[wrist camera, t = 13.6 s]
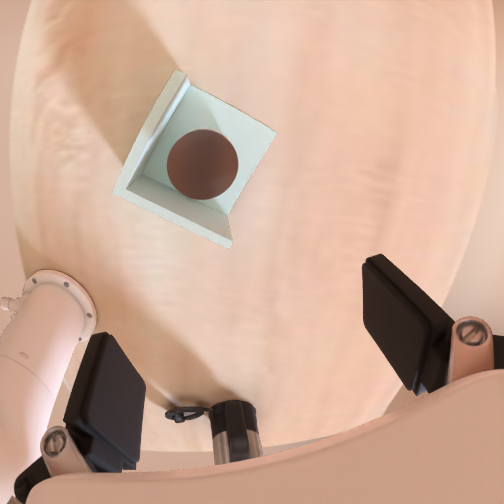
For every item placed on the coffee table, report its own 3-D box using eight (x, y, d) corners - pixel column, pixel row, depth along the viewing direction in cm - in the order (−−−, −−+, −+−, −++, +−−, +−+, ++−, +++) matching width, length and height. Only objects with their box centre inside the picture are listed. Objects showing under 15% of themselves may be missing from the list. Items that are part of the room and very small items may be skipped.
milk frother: (261, 418, 53) (275, 480, 40) (190, 434, 53) (193, 494, 40) (239, 380, 47) (252, 455, 33) (157, 399, 47) (153, 470, 33)
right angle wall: (223, 222, 34) (228, 249, 28) (130, 176, 30) (111, 193, 24) (277, 132, 31) (297, 137, 24) (182, 80, 27) (175, 69, 20)
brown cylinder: (168, 188, 24) (164, 197, 22) (174, 126, 22) (169, 127, 20) (230, 193, 26) (234, 202, 23) (238, 132, 23) (243, 133, 21)
